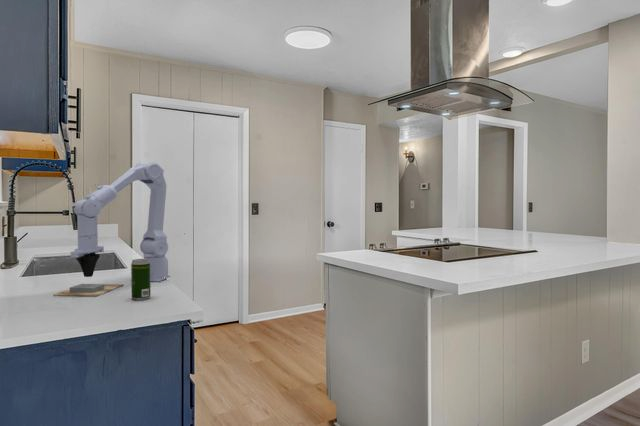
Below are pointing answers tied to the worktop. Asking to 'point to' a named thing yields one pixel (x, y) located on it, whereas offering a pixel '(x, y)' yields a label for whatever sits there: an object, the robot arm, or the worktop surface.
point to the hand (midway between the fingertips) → (88, 276)
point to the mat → (106, 289)
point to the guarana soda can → (140, 279)
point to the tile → (87, 288)
